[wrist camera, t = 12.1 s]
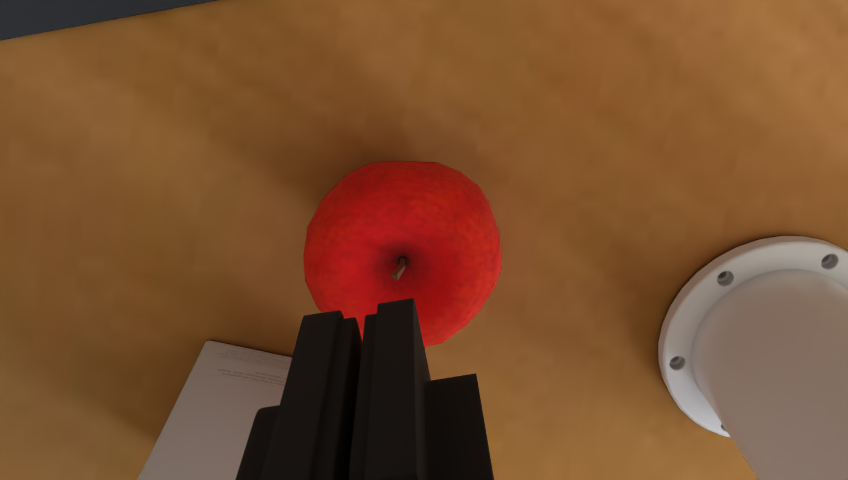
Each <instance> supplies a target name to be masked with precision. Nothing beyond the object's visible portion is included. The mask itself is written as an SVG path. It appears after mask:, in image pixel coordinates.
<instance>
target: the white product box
mask: <svg viewBox="0 0 848 480" xmlns="http://www.w3.org/2000/svg"><path fill="white" fill-rule="evenodd" d="M291 360H292V357H287V356H282V355H277V354H272V353H268V352H263V351H258V350H254V349H249V348H244V347H239V346H234V345H229V344H225V343H220V342H215V341H206V342H205V344H204V346H203V348H202V350H201V352H200V355H199V357H198V359H197V361H196V363H195V365H194V367H193V369H192V371H191V373H190V375H189V377H188V379H187V381H186V383H185V385H184V387H183V389H182V391H181V393H180V395H179V397H178V399H177V401H176V403H175V405H174V407H173V409H172V411H171V413H170V415H169V417H168V420H167V422H166V424H165V426H164V428H163V430H162V432H161V434H160V436H159V438H158V440H157V441H156V443H155V445H154V448H153V450H152V452H151V454H150V456H149V458H148V460H147V462H146V464H145V466H144V468H143V470H142V472H141V474H140V476H139V478H138V480H235V479H236V476H237V473H238V469H239V466H240V463H241V460H242V457H243V453H244V450H245V447H246V444H247V441H248V437H249V434H250V431H251V428H252V425H253V421H254V418H255V415H256V413H257V411H258V410H259V409H261V408H264V407H270V406H276V405H280V402H281V398H282V394H283V390H284V387H285V383H286V379H287V375H288V372H289V368H290V364H291Z"/></svg>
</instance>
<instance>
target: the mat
mask: <svg viewBox="0 0 848 480" xmlns="http://www.w3.org/2000/svg"><path fill="white" fill-rule="evenodd" d="M210 1H216V0H0V40H4V39H10V38H15V37H21V36H26V35H32V34H37V33H42V32H48V31H53V30H59V29H64V28H69V27H75V26H80V25H86V24H91V23H97V22H102V21H107V20H113V19H118V18H124V17H129V16H134V15H140V14H145V13H151V12H156V11H162V10H167V9H172V8H178V7H183V6H189V5H194V4H199V3H205V2H210Z"/></svg>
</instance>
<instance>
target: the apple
mask: <svg viewBox="0 0 848 480" xmlns="http://www.w3.org/2000/svg"><path fill="white" fill-rule="evenodd" d="M304 271H305V281H306V284H307V286H308V288H309V290H310V293H311V295H312V297H313V299H314V301H315V304H316V306H317V308H318V309H319V310H320V311H321V312H322V313H324V312H330V311H337V310H341V312H342V314H343V316H344V319H346V318H352V317H355V318H356V319H357V322H358V326H359V330H360V334H361V338H362V341H363V332H364V322H365V315H370V314H376V313H377V306H378V304H379V303H385V302H391V301H397V300H403V299H409V298H414V300H415V304H416V309H417V314H418V319H419V324H420V329H421V334H422V339H423V344H424V347H427V346H431V345H435V344H439V343H442V342H444V341H445V340H447V339H448V338H450V337H451V336H453V335H454V334H455V333H457V332H458V331H459V330H461V329H462V328H464V327H465V326H466V325H467V324H468V323H469V321H470V320H471V319H472V318H473V317H474V316H475V315H476V314H477V313H478V312H479V311H480V309H481V308H482V306H483V305H484V303H485V301H486V300H487V298H488V297H489V295H490V293H491V292H492V290H493V289H494V287H495V285H496V283H497V280H498V277H499V274H500V271H501V250H500V234H499V231H498V228H497V225H496V222H495V219H494V216H493V213H492V210H491V207H490V205H489V202H488V200H487V199H486V197H485V195H484V194H483V192H482V191H481V189H480V187H479V186H478V185H477V184H475V183H474V182H473V181H471V180H470V179H469V178H467V177H466V176H465V175H463V174H462V173H461V172H459V171H457V170H454V169H452V168H449V167H447V166H444V165H442V164H439V163H437V162H412V161H389V162H380V163H371V164H368V165H366V166H363V167H361V168H359V169H357V170H355V171H353V172H351V173H350V174H348V175H346V176H345V177H344V178H343V179H342V180H341V181H340V182H339V183H338V184H337V185H336V186H335V187H334V188H333V189H332V190H331V191H330V192H329V193H328V194H327V195H326V197H325V198H324V199H323V200H322V202H321V203H320V205H319V207H318V209H317V211H316V213H315V214H314V216H313V218H312V220H311V222H310V224H309V226H308V228H307V235H306V242H305V249H304Z"/></svg>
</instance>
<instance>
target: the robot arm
mask: <svg viewBox="0 0 848 480" xmlns="http://www.w3.org/2000/svg"><path fill="white" fill-rule="evenodd" d="M720 273H722V274H720ZM719 274H720V275H719ZM658 362H659V366H660V370H661V374H662V379H663V381H664V383H665V385H666V386H667V388H668V390H669V392H670V394H671V396H672V397H673V399H674V400H675V402H676V403H677V405H678V406H679V408H680V409H681V410H682V411H683V412H684V413H685V414H686V415H687V416H688V417H689V418H690V419H691V420H692V421H694V422H696V423H697V424H699V425H701V426H702V427H704V428H706V429H707V430H709V431H712V432H714V433H717V434H720V435H722V436H726V437H731V438H732V440H733V441H734V443H735V444H736V446H737V447H738V449H739V451H740V452H741V454H742V455H743V457H744V458H745V460H746V461H747V463H748V464H749V466H750V468H751V469H752V471H753V472H754V474H755V475H756V477H757V478H758V480H848V251H846V250H845V249H843V248H841V247H839V246H836V245H834V244H832V243H829V242H827V241H825V240H820V239H815V238H810V237H805V236H778V237H772V238H766V239H760V240H756V241H753V242H750V243H747V244H744V245H741V246H739V247H736V248H734V249H732V250H730V251H728V252H727V253H725V254H723V255H721V256H719V257H717V258H715V259H714V260H713V261H711V262H710V263H709V264H707V265H706V266H705V267H703V268H702V269H701V270H700V271H698V272H697V273H696V274H695V275H694V276H693V277H692V278H691V279H690V280H689V281H688V283H687V284H686V285H685V286H684V287H683V288H682V289H681V291H680V292H679V294H678V295H677V297H676V298H675V300H674V301H673V303H672V304H671V306H670V308H669V310H668V312H667V315H666V317H665V319H664V322H663V324H662V328H661V333H660V338H659V342H658ZM235 480H494V477H493V471H492V465H491V459H490V453H489V447H488V441H487V435H486V429H485V423H484V417H483V411H482V405H481V399H480V393H479V388H478V382H477V376H476V374H470V375H463V376H457V377H451V378H445V379H438V380H432V381H431V379H430V374H429V369H428V364H427V359H426V354H425V349H424V344H423V339H422V334H421V329H420V324H419V319H418V314H417V309H416V304H415V300H414V298H409V299H403V300H397V301H391V302H385V303H379V304H378V306H377V313H376V314H370V315H365V322H364V332H363V341H362V338H361V334H360V330H359V326H358V322H357V319H356V318H355V317H352V318H346V319H344V316H343V314H342V312H341V310H337V311H330V312H324V313H318V314H312V315H306V316H304V317H303V319H302V323H301V327H300V331H299V334H298V338H297V342H296V346H295V349H294V353H293V357H292V360H291V364H290V368H289V372H288V375H287V379H286V383H285V387H284V390H283V394H282V398H281V402H280V405H276V406H270V407H264V408H261V409H259V410H258V411H257V413H256V415H255V418H254V421H253V425H252V428H251V431H250V434H249V437H248V441H247V444H246V447H245V450H244V453H243V457H242V460H241V463H240V466H239V469H238V473H237V476H236V479H235Z"/></svg>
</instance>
